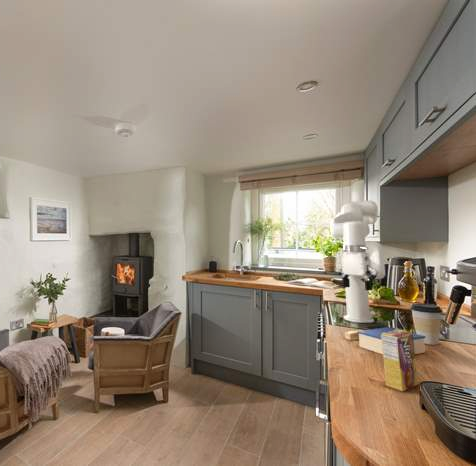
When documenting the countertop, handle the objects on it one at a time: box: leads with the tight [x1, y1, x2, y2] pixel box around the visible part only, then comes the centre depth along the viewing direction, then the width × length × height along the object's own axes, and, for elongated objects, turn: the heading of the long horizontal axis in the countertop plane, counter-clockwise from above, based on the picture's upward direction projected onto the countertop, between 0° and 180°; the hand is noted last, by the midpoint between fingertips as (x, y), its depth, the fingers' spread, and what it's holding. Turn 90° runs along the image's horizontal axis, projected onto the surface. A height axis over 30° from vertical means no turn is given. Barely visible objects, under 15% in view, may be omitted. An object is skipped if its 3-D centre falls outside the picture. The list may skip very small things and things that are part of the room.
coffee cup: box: [409, 303, 444, 346], centre depth 119 cm, size 9×9×15 cm
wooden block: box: [344, 329, 364, 341], centre depth 127 cm, size 15×4×3 cm, turn 104°
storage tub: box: [356, 326, 426, 355], centre depth 112 cm, size 17×13×6 cm
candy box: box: [381, 328, 419, 392], centre depth 85 cm, size 9×4×15 cm, turn 114°
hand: (357, 288), depth 127 cm, fingers open, 9 cm apart
